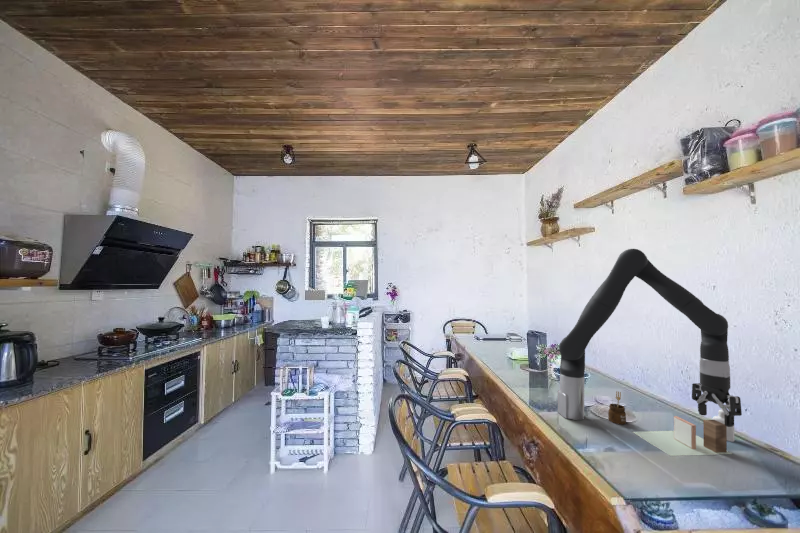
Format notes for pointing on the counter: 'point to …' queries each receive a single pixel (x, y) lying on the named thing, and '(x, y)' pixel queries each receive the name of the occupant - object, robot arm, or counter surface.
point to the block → (715, 436)
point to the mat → (675, 444)
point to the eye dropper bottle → (722, 419)
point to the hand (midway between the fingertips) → (715, 420)
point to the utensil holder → (617, 412)
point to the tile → (685, 432)
